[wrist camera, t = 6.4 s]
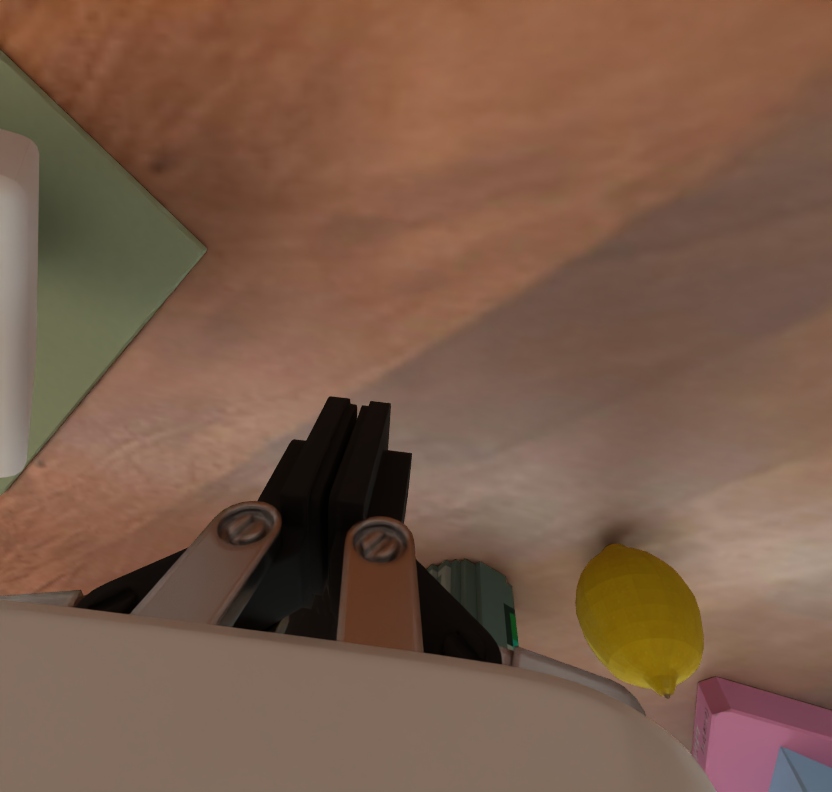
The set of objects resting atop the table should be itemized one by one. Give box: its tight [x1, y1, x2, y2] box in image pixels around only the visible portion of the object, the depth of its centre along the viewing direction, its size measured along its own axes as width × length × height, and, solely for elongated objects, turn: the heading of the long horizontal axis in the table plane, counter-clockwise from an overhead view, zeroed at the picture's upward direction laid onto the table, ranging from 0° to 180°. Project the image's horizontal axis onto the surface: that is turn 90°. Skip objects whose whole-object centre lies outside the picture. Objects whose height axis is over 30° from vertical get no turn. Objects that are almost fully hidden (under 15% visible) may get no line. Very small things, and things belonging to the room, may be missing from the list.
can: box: [426, 559, 519, 650], centre depth 22 cm, size 6×6×15 cm
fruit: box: [576, 544, 704, 699], centre depth 23 cm, size 6×6×8 cm
